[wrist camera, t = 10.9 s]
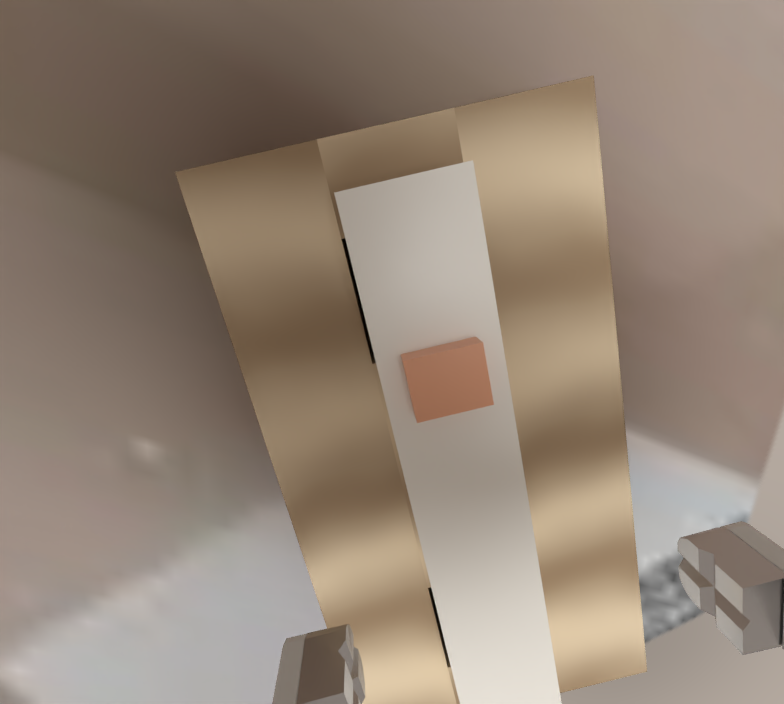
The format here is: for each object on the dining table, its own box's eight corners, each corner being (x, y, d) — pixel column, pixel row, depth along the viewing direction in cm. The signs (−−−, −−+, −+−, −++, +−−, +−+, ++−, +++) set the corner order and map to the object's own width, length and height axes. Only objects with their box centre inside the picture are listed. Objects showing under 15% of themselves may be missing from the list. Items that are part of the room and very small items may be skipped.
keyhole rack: (220, 190, 18) (175, 171, 14) (537, 117, 18) (593, 75, 14) (364, 653, 24) (365, 741, 20) (596, 596, 25) (647, 671, 20)
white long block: (343, 210, 17) (332, 188, 11) (436, 189, 18) (481, 154, 11) (443, 621, 23) (475, 771, 16) (513, 604, 23) (574, 746, 16)
